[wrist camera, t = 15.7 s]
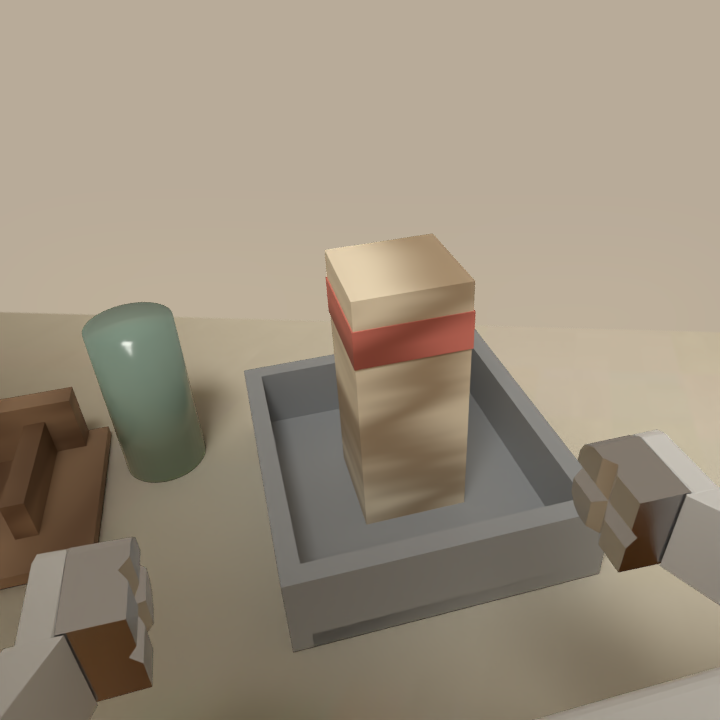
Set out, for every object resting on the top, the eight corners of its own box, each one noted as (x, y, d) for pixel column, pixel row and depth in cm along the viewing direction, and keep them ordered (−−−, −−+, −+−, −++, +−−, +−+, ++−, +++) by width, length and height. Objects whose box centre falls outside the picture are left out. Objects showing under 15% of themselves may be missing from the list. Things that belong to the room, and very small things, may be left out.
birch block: (365, 525, 28) (349, 302, 22) (342, 456, 32) (323, 249, 26) (465, 502, 29) (476, 281, 23) (431, 437, 32) (433, 232, 26)
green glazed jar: (125, 489, 32) (76, 354, 27) (129, 438, 35) (86, 310, 31) (207, 472, 32) (172, 338, 28) (204, 424, 36) (172, 296, 31)
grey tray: (293, 652, 24) (280, 587, 22) (254, 427, 35) (243, 370, 33) (599, 573, 26) (614, 507, 24) (472, 385, 37) (475, 329, 35)
